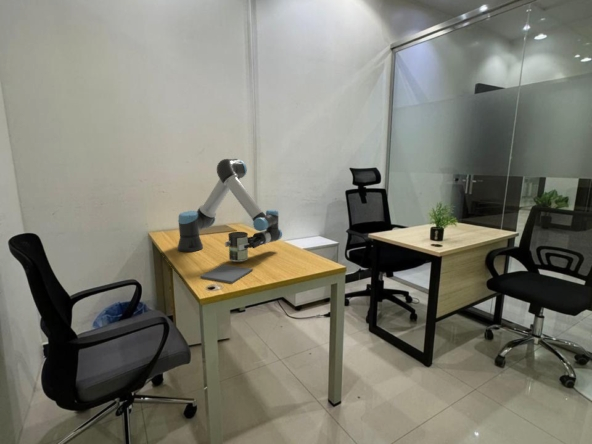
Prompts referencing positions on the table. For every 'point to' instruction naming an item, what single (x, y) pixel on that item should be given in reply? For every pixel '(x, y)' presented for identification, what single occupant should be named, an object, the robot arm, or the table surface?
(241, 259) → the coffee can
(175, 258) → the table surface
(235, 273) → the rubber mat
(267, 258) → the table surface
